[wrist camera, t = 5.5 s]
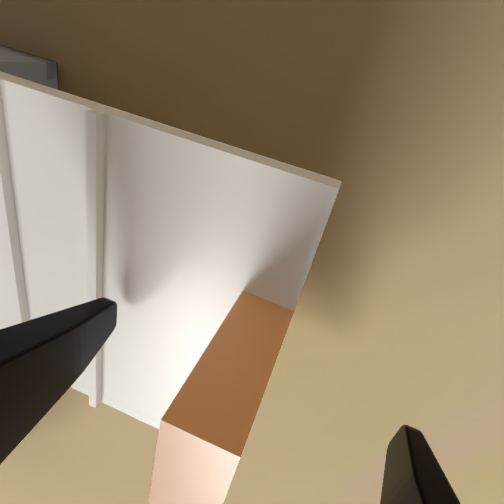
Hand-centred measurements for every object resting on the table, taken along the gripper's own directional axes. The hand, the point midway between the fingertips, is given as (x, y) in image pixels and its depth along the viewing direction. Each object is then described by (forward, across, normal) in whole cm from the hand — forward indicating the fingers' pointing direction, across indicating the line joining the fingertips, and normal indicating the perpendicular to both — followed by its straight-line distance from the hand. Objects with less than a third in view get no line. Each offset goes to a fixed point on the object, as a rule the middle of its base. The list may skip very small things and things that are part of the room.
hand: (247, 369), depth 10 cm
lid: (+1, +7, 0) cm, 7 cm away
